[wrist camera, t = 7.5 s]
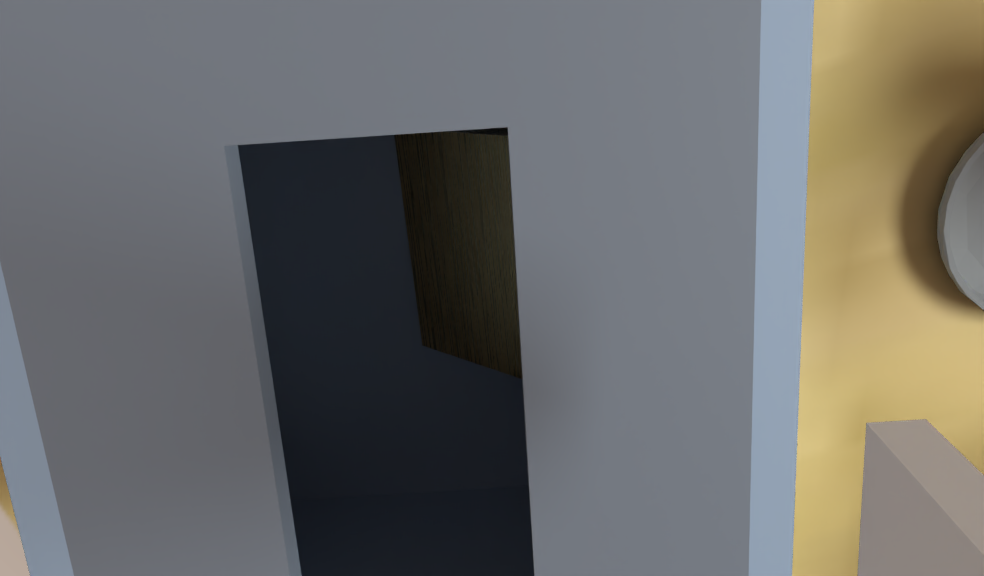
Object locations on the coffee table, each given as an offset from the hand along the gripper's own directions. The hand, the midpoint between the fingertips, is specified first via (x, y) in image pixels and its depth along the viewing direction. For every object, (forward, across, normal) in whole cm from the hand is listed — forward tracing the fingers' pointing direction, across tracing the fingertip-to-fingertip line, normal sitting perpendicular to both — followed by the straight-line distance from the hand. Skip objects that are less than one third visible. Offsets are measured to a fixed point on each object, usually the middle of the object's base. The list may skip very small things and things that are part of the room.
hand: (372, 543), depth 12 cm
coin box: (+16, 0, 0) cm, 16 cm away
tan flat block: (+14, 0, -1) cm, 14 cm away
